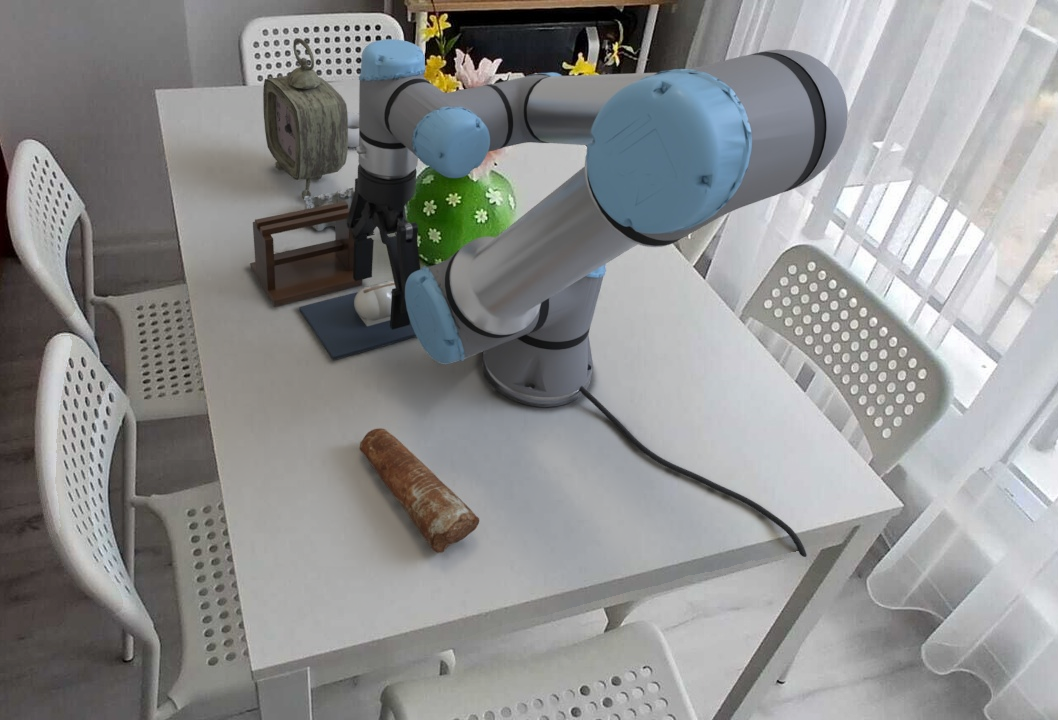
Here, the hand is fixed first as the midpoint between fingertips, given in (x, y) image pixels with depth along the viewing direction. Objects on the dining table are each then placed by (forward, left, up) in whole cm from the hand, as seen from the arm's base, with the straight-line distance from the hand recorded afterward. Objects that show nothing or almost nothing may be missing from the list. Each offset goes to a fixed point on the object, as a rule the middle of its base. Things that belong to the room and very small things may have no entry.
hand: (380, 301), depth 128 cm
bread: (-32, +12, -3) cm, 34 cm away
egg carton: (+26, -5, -3) cm, 27 cm away
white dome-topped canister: (0, 0, -2) cm, 2 cm away
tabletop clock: (+39, -5, -3) cm, 39 cm away
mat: (0, 0, -3) cm, 3 cm away
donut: (+51, -19, -3) cm, 55 cm away
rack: (+13, +6, -3) cm, 15 cm away
